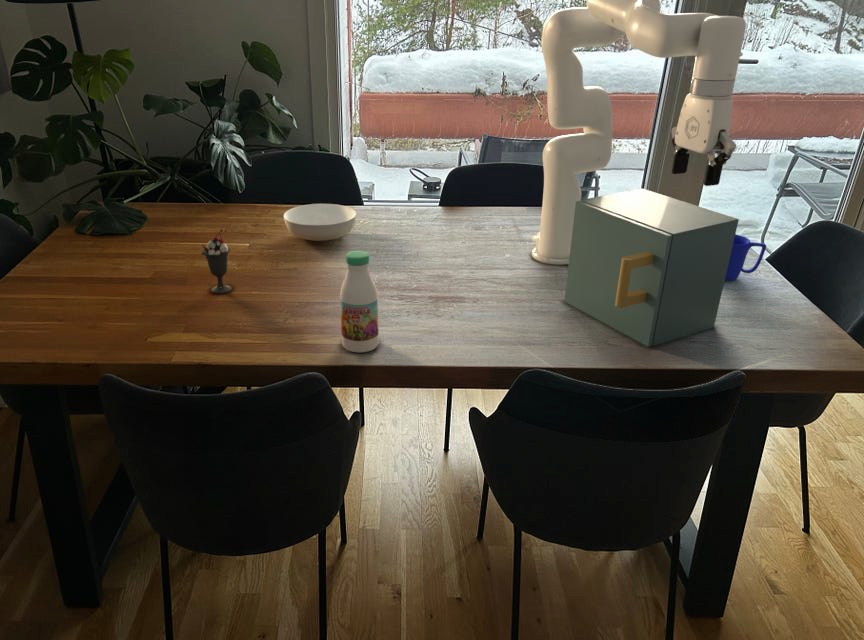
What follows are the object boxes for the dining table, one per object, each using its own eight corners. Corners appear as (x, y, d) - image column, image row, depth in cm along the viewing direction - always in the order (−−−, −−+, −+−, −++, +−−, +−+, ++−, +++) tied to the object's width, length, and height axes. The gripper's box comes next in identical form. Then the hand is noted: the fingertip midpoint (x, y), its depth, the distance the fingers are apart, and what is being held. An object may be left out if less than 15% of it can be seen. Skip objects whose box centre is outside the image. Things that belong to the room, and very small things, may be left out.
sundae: (240, 286, 178) (233, 228, 171) (224, 296, 173) (216, 237, 165) (218, 282, 180) (211, 225, 173) (202, 292, 175) (193, 233, 168)
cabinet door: (622, 355, 144) (640, 242, 132) (540, 307, 164) (550, 206, 153) (651, 346, 147) (672, 235, 136) (567, 300, 167) (579, 200, 156)
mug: (761, 285, 173) (771, 246, 169) (708, 282, 176) (717, 243, 171) (753, 273, 180) (762, 235, 176) (702, 270, 183) (710, 232, 178)
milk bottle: (341, 337, 153) (337, 248, 143) (377, 335, 153) (375, 246, 144) (342, 354, 146) (338, 262, 137) (380, 352, 147) (378, 260, 137)
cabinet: (652, 346, 147) (673, 234, 136) (568, 301, 167) (580, 199, 156) (714, 327, 154) (738, 219, 143) (626, 286, 175) (641, 188, 163)
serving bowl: (355, 248, 201) (354, 224, 197) (280, 249, 201) (278, 225, 198) (358, 224, 219) (358, 202, 216) (290, 225, 219) (288, 203, 216)
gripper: (665, 83, 142) (651, 170, 150) (727, 96, 127) (707, 192, 136) (697, 81, 144) (682, 167, 152) (761, 93, 129) (740, 188, 137)
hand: (694, 179), depth 144 cm, fingers open, 9 cm apart
